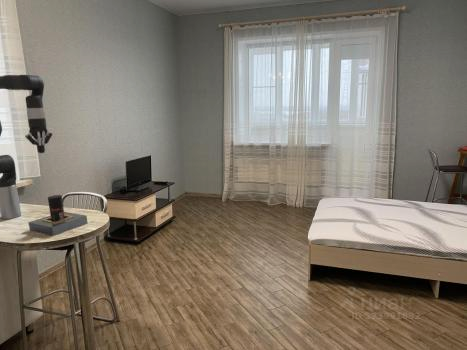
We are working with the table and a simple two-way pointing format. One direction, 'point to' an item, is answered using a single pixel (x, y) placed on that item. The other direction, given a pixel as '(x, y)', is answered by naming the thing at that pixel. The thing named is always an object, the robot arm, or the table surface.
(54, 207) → the deodorant
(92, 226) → the table surface
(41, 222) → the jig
